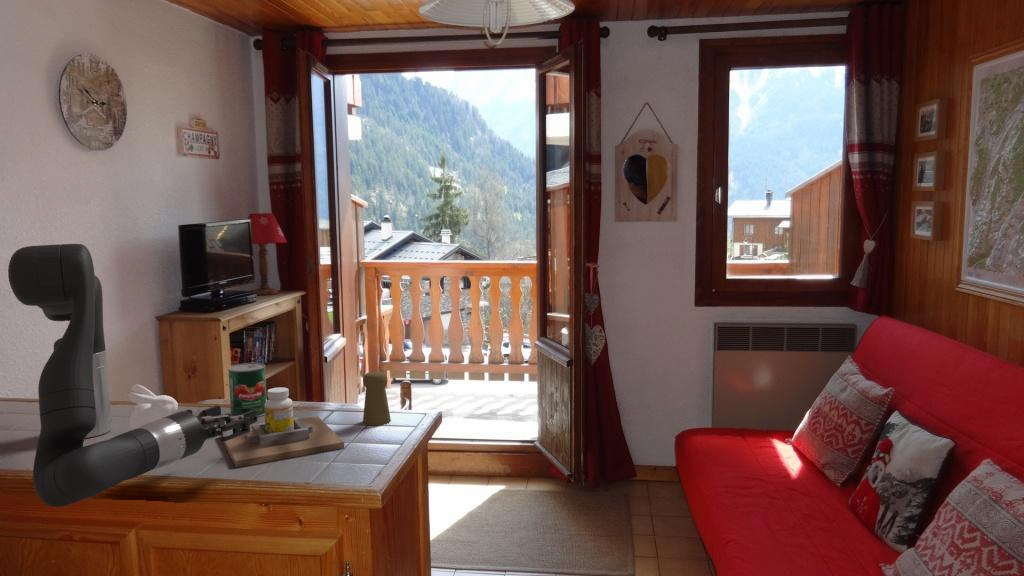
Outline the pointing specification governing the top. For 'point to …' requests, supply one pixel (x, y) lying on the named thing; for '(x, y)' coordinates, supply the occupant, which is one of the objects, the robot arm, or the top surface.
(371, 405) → the cork
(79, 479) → the robot arm
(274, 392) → the supplement bottle
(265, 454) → the holder
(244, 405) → the canned tomato
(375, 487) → the top surface
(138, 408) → the rabbit
